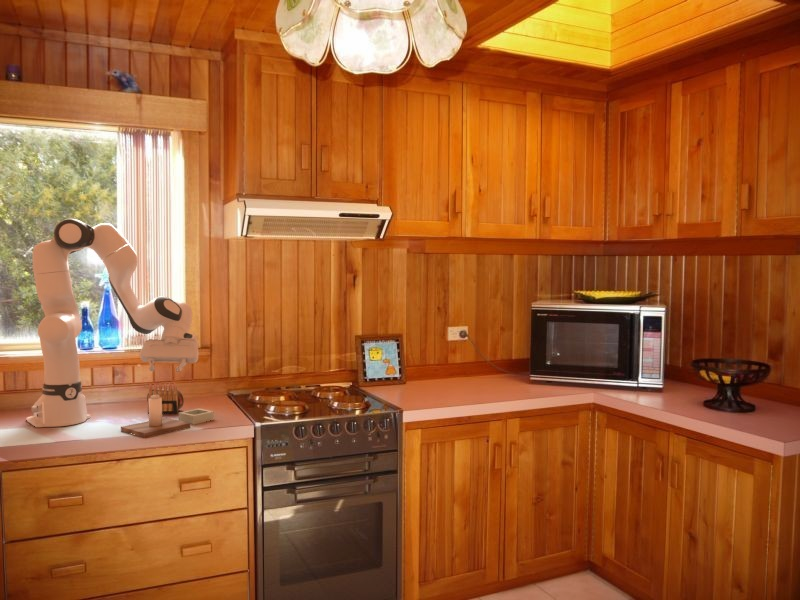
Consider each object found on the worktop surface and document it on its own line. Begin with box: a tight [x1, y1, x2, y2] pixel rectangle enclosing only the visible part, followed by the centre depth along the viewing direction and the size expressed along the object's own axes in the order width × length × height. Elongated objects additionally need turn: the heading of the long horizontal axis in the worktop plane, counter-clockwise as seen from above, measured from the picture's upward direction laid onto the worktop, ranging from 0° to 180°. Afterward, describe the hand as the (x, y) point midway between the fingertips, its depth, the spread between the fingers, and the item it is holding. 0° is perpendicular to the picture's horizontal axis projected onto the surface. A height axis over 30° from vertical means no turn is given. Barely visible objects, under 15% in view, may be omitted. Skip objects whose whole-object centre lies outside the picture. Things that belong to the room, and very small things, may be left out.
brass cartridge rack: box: [146, 387, 185, 411], centre depth 248 cm, size 15×3×8 cm, turn 72°
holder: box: [178, 408, 215, 425], centre depth 231 cm, size 9×9×3 cm
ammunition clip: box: [147, 381, 179, 415], centre depth 242 cm, size 11×2×12 cm, turn 95°
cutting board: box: [120, 416, 191, 439], centre depth 219 cm, size 14×17×2 cm
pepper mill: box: [147, 395, 163, 426], centre depth 218 cm, size 4×4×10 cm
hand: (165, 370), depth 230 cm, fingers open, 8 cm apart
